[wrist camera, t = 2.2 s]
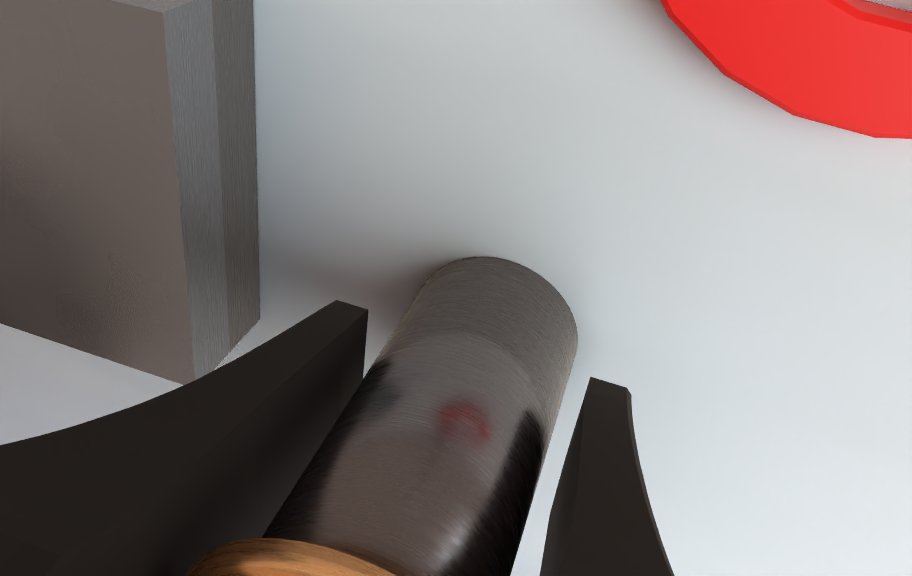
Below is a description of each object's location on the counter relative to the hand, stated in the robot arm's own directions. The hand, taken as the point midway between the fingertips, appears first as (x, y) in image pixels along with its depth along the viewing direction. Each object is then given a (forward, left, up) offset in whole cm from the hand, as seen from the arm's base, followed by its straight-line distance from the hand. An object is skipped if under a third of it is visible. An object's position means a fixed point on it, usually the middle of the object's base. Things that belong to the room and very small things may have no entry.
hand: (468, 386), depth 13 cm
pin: (0, 0, -2) cm, 2 cm away
